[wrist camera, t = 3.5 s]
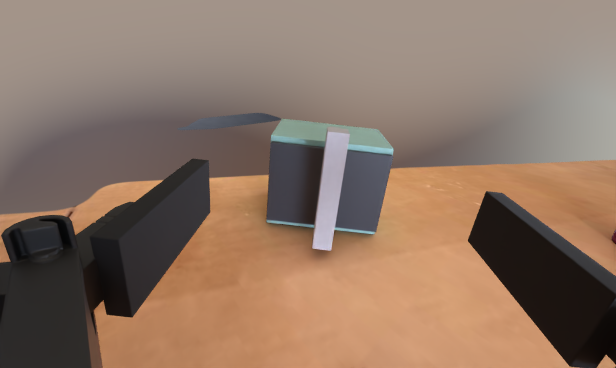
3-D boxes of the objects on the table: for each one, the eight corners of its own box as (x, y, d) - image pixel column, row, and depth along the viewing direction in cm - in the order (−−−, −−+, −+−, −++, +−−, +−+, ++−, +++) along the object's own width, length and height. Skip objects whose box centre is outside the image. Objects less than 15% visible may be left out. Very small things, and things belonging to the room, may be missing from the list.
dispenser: (374, 234, 30) (393, 148, 26) (266, 222, 30) (271, 135, 26) (363, 199, 37) (378, 129, 33) (277, 190, 37) (282, 118, 33)
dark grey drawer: (384, 259, 25) (414, 141, 21) (257, 245, 25) (262, 124, 21) (365, 197, 36) (382, 112, 32) (277, 188, 36) (283, 101, 32)
